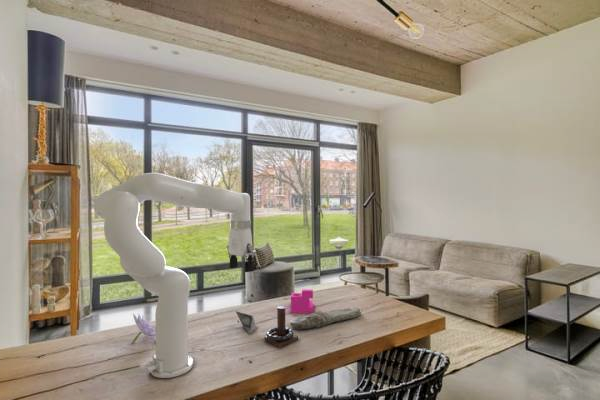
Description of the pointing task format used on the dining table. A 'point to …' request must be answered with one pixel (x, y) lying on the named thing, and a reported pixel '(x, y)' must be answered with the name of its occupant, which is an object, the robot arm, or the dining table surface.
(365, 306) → the dining table surface
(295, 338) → the peg stand
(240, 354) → the dining table surface
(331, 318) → the long grey stone
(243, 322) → the paper boat
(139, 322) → the water lily
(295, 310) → the bracket
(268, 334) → the hoop
